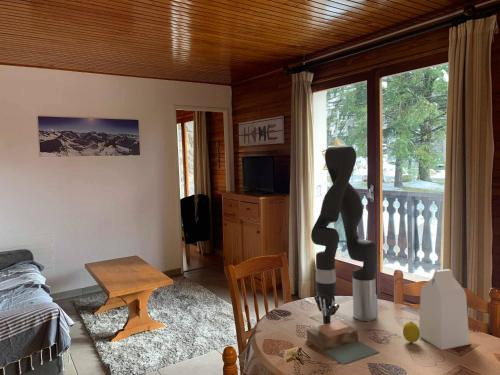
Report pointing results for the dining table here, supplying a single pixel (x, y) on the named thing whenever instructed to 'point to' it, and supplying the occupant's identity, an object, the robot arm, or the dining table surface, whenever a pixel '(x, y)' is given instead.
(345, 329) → the pink sponge
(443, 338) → the milk
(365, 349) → the mat
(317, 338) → the deck
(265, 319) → the dining table surface
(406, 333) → the lemon
